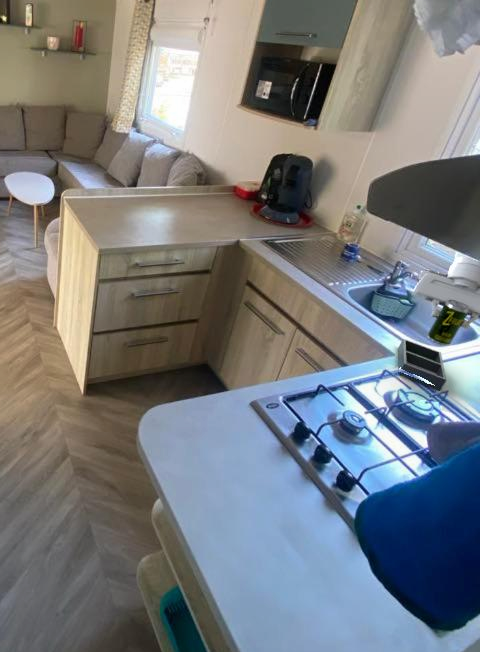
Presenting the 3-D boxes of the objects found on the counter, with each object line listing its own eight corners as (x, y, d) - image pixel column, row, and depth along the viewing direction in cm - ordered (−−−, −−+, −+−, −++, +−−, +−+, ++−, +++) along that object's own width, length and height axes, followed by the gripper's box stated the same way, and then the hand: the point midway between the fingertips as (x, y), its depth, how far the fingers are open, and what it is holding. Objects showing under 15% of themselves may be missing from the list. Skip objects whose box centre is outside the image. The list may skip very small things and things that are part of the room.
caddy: (434, 362, 130) (441, 352, 129) (439, 391, 117) (446, 380, 115) (397, 348, 135) (403, 338, 133) (398, 374, 122) (404, 363, 120)
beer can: (424, 332, 122) (443, 297, 117) (445, 338, 120) (466, 302, 116) (430, 342, 117) (451, 305, 112) (452, 348, 116) (474, 311, 111)
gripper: (425, 262, 122) (408, 301, 119) (517, 290, 111) (501, 335, 108) (419, 271, 127) (402, 310, 124) (506, 299, 116) (490, 342, 113)
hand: (449, 321), depth 116 cm, fingers closed on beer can, 5 cm apart
